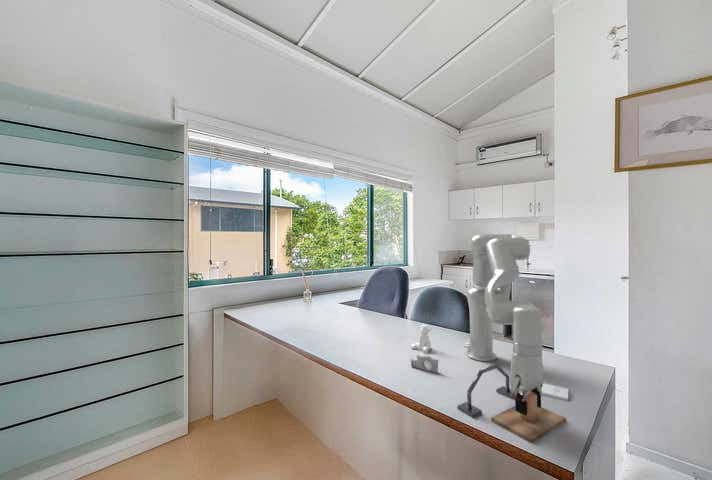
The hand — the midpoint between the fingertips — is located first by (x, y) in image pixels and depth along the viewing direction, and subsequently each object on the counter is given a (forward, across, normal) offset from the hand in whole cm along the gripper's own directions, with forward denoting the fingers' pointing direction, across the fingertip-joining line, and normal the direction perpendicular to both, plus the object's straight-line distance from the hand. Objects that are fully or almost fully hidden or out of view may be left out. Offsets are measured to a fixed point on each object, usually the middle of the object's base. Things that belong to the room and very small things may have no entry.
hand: (528, 408), depth 93 cm
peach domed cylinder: (+3, 0, 0) cm, 3 cm away
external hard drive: (+4, -23, -7) cm, 25 cm away
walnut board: (+4, 0, 0) cm, 4 cm away
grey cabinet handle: (+4, 0, -13) cm, 14 cm away
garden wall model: (+4, -1, -44) cm, 44 cm away
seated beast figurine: (+4, -17, -62) cm, 64 cm away
